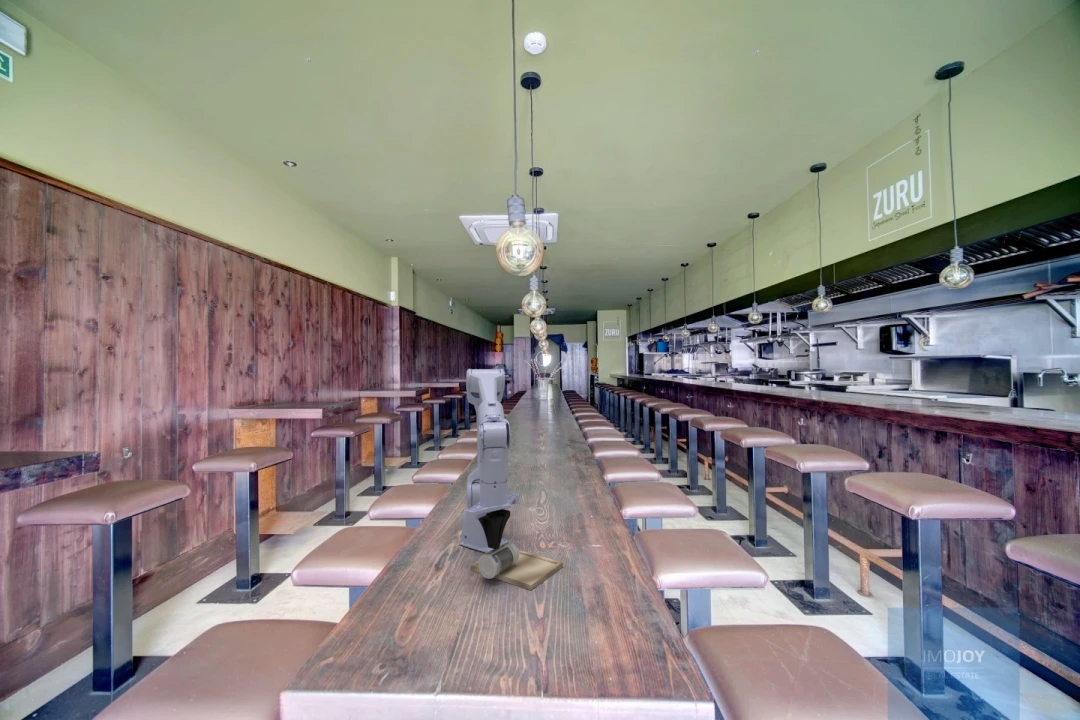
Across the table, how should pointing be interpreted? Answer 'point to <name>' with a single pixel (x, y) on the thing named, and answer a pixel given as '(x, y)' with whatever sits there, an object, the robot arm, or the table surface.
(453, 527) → the table surface
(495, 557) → the pill bottle
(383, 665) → the table surface
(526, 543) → the table surface
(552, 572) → the beech board
